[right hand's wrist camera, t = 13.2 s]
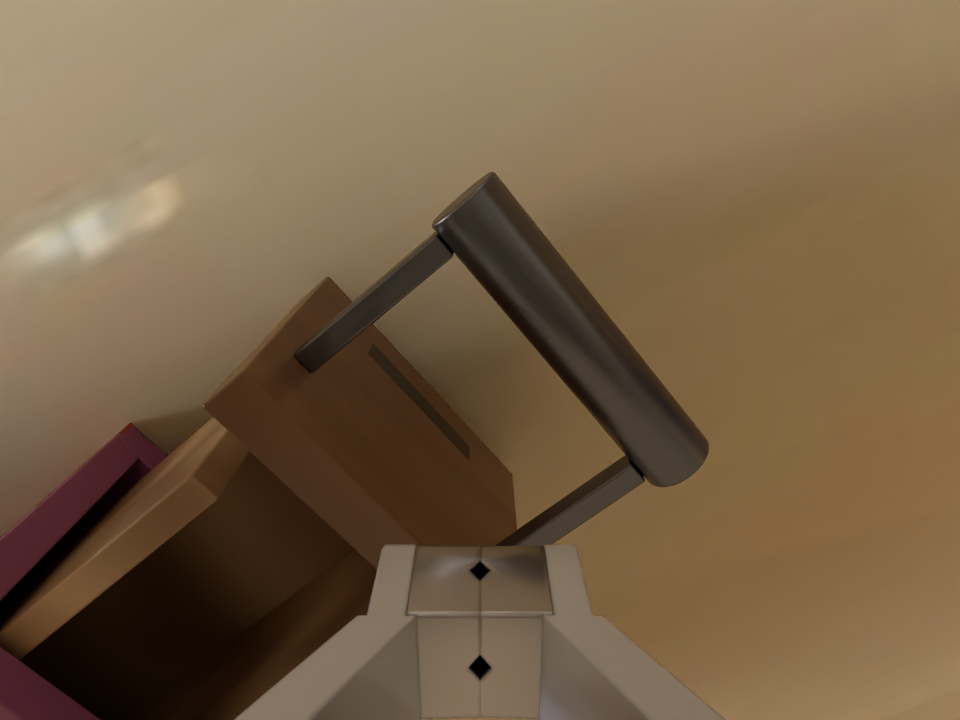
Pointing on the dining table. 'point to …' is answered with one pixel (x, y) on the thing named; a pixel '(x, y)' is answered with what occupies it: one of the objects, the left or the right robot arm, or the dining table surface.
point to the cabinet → (63, 513)
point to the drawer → (327, 486)
